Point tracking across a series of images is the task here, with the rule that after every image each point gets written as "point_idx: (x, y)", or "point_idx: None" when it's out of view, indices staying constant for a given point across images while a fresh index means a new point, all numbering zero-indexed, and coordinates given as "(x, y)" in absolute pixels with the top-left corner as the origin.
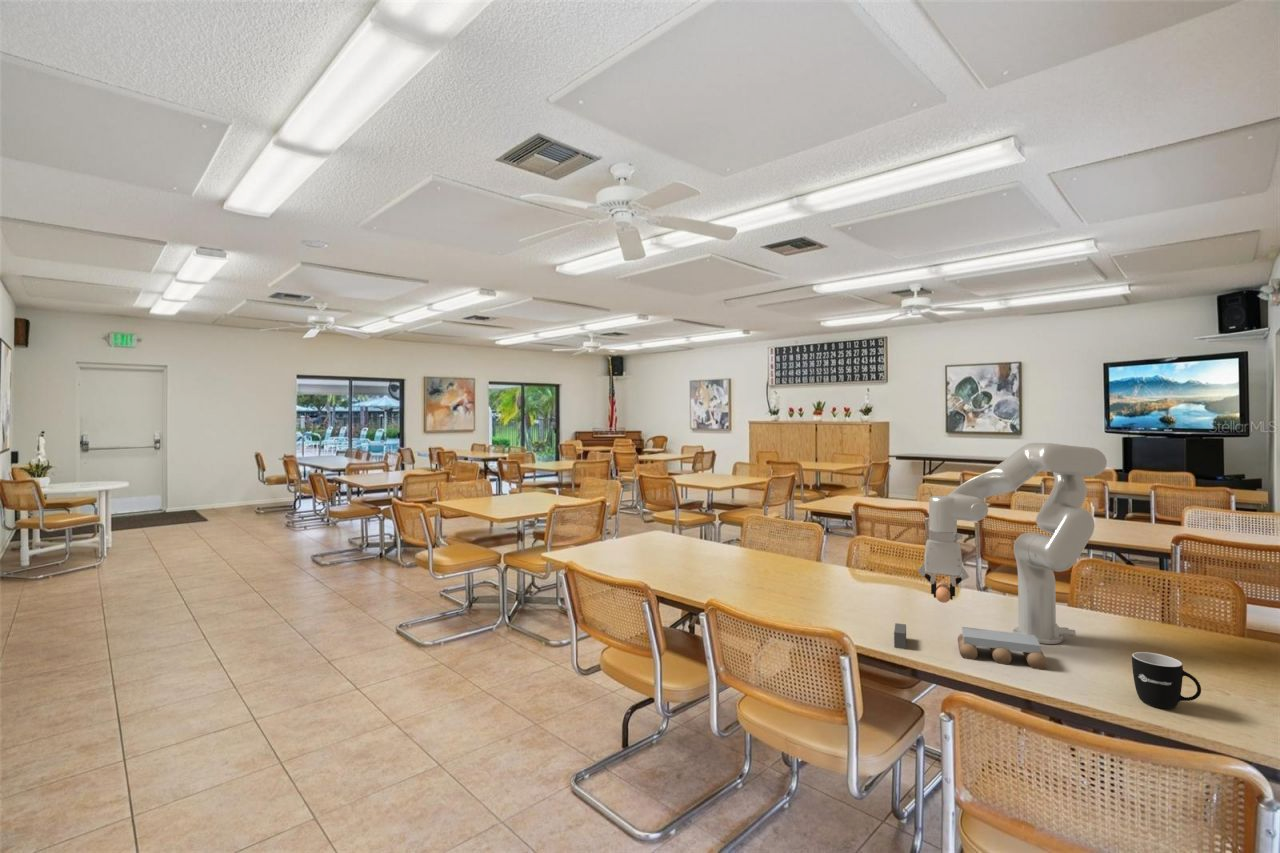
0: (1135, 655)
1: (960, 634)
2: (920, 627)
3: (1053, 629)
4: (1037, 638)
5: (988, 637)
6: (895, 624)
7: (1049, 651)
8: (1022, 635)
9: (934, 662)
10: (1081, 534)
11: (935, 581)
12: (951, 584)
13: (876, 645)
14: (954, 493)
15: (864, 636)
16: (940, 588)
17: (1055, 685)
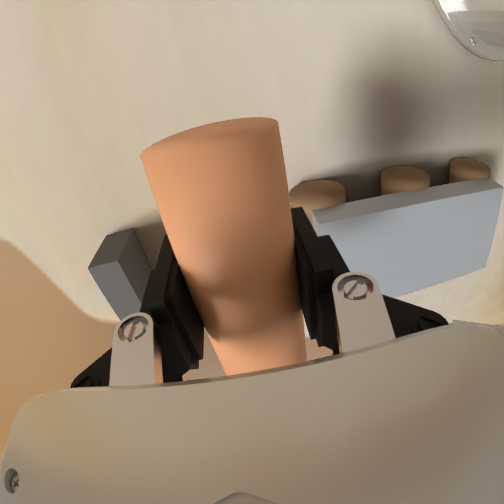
0: None
1: (304, 205)
2: (117, 46)
3: None
4: (487, 47)
5: (393, 283)
6: (96, 281)
7: (491, 93)
8: (479, 208)
9: None
10: None
11: (176, 348)
12: (328, 339)
13: (101, 302)
14: None
15: (46, 261)
16: (245, 372)
17: (447, 293)
